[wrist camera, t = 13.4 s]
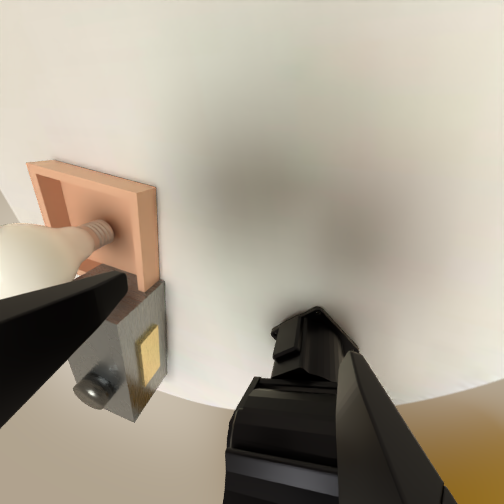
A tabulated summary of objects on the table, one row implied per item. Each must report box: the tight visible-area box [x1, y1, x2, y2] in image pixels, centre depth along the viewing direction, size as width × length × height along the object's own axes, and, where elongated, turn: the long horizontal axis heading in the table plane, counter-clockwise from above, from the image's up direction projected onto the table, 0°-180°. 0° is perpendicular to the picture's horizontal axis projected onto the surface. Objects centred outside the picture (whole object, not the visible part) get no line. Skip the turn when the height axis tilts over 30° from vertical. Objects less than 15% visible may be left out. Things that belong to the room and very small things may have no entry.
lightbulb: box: [0, 219, 114, 299], centre depth 19 cm, size 6×6×11 cm
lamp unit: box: [68, 263, 167, 423], centre depth 27 cm, size 18×8×9 cm, turn 170°
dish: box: [26, 160, 159, 292], centre depth 24 cm, size 12×12×2 cm
